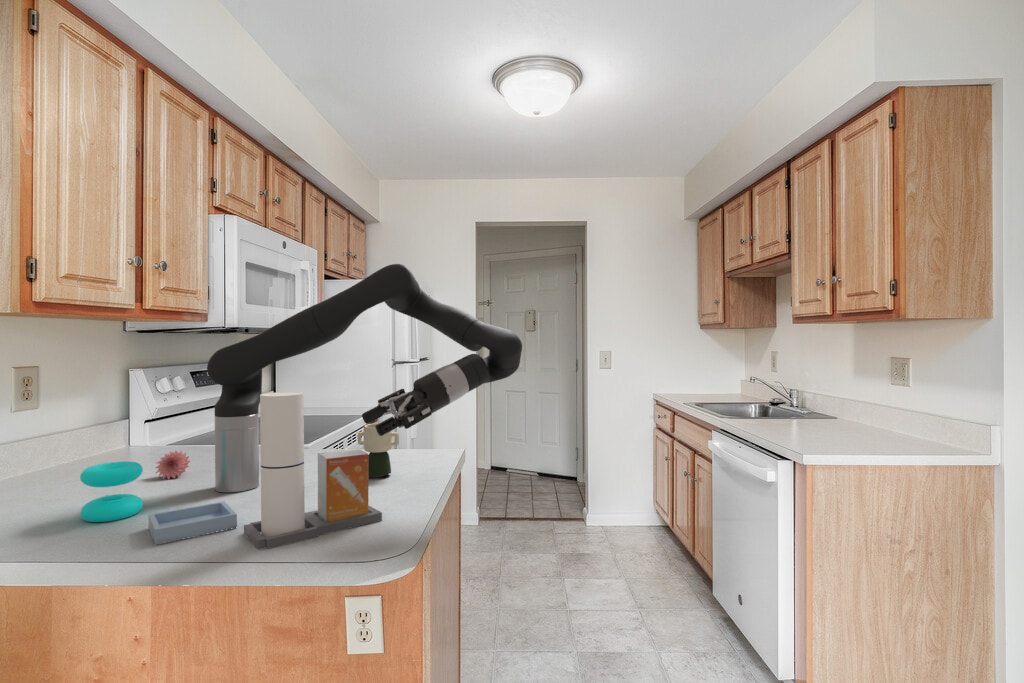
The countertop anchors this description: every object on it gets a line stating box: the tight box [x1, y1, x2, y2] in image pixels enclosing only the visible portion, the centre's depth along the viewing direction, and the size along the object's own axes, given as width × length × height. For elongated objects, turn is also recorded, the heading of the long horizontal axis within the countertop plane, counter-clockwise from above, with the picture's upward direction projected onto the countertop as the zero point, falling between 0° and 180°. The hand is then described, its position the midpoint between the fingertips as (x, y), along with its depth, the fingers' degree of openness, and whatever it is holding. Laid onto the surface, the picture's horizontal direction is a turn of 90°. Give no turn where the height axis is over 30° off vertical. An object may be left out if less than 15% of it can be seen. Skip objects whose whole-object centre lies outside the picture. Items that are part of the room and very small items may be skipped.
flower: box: [155, 449, 191, 481], centre depth 139 cm, size 8×8×6 cm
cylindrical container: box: [259, 391, 306, 538], centre depth 97 cm, size 7×7×25 cm
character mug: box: [357, 422, 400, 478], centre depth 137 cm, size 11×7×13 cm, turn 82°
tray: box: [147, 500, 238, 546], centre depth 100 cm, size 11×13×3 cm
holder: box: [243, 504, 383, 550], centre depth 100 cm, size 11×22×2 cm, turn 129°
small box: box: [317, 447, 369, 523], centre depth 104 cm, size 8×6×13 cm
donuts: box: [79, 461, 144, 523], centre depth 108 cm, size 10×10×10 cm
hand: (370, 425), depth 105 cm, fingers open, 8 cm apart
